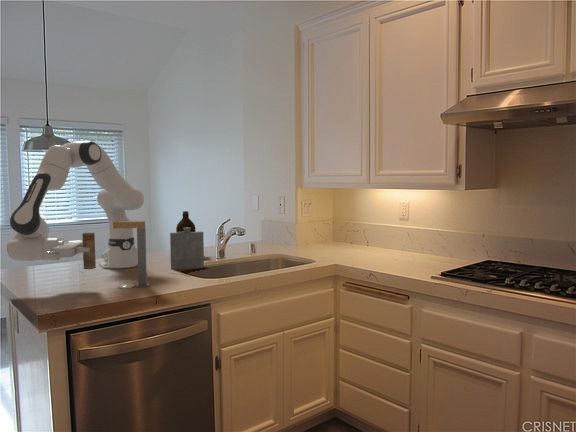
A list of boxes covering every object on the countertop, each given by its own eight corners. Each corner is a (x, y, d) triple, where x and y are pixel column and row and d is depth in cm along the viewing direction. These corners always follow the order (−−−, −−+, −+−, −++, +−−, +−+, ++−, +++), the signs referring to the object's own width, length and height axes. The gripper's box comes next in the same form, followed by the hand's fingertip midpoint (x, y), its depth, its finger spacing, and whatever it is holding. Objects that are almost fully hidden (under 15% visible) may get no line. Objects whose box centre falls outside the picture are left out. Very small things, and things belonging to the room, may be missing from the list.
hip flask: (203, 266, 233) (202, 226, 231) (204, 267, 229) (204, 227, 227) (170, 268, 228) (169, 227, 226) (171, 270, 224) (170, 228, 222)
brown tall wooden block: (82, 268, 186) (80, 233, 185) (93, 266, 189) (92, 232, 188) (85, 269, 183) (84, 234, 181) (97, 268, 185) (96, 233, 184)
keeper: (114, 289, 186) (112, 222, 183) (117, 285, 193) (115, 221, 190) (148, 287, 188) (146, 222, 186) (149, 283, 195) (148, 220, 193)
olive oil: (199, 254, 269) (198, 210, 267) (189, 257, 259) (188, 212, 257) (183, 253, 272) (182, 210, 270) (173, 256, 262) (172, 211, 260)
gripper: (44, 245, 172) (84, 244, 175) (61, 237, 192) (96, 236, 195) (45, 262, 173) (85, 260, 175) (61, 252, 193) (97, 251, 195)
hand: (91, 248), depth 185 cm, fingers closed on brown tall wooden block, 4 cm apart
